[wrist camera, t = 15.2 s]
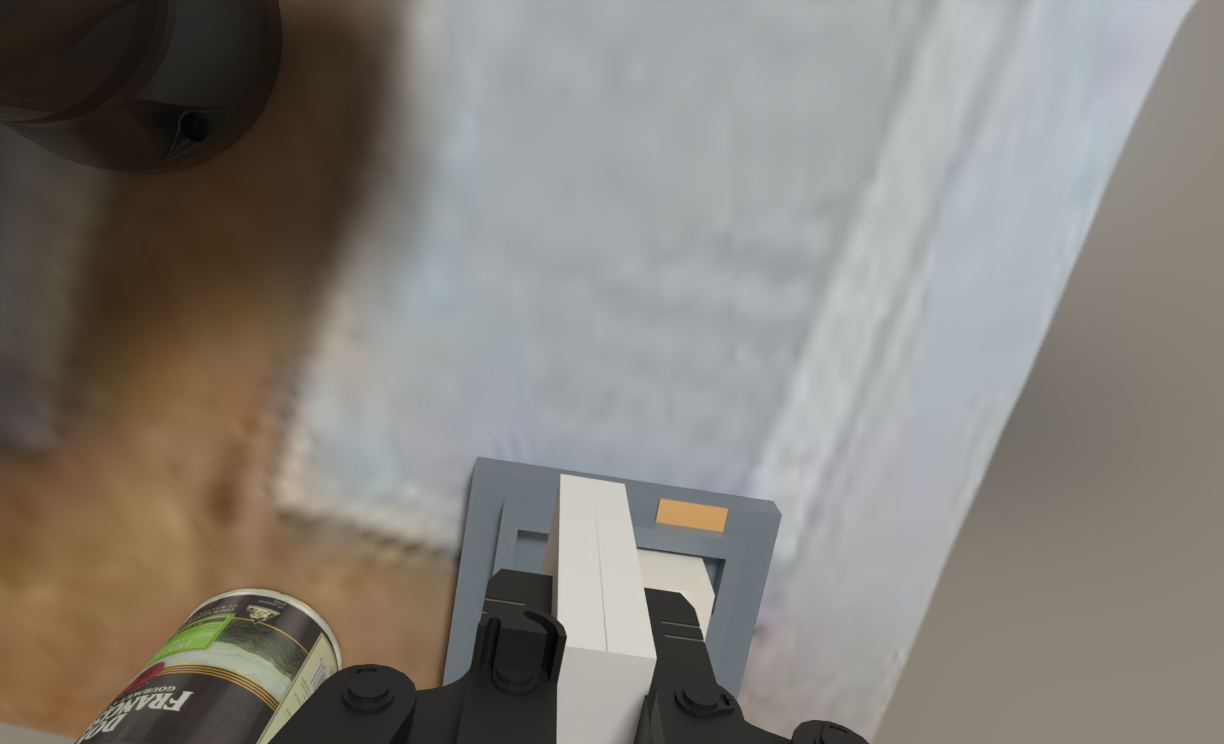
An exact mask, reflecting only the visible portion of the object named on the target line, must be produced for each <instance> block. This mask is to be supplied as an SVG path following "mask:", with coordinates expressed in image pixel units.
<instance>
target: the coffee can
mask: <svg viewBox="0 0 1224 744" xmlns="http://www.w3.org/2000/svg"><path fill="white" fill-rule="evenodd" d="M339 670H342V656H341V651H340V648H339V644H338V642H337V640H336V637H335V635H334V634H333V632H332V630H331V629H330V627H329V625H328V624H327V623H326V622H325V621H324V620H323V619H322V618H321V617H320V615H319V614H318V613H317V612H315V611H314V610H313V609H312V608H310V607H309V606H308V605H306V604H305V603H303V602H301V601H299V600H298V599H296V598H294V597H291V596H289V595H286V594H283V593H280V592H277V591H273V590H267V589H253V588H248V589H238V590H233V591H229V592H225V593H222V594H219V595H217V596H214V597H212V598H210V599H209V600H207V601H205V602H204V603H202V604H201V605H200V606H198V607H197V608H196V609H195V610H194V611H193V612H192V613H191V614H190V615H189V617H188V618H187V619H186V620H185V622H184V623H183V625H182V626H181V627H180V628H179V629H178V631H177V632H176V633H175V634H174V635H173V636H172V637H171V638H170V639H169V640H168V642H167V643H166V644H165V645H164V646H163V647H162V648H161V649H160V651H159V652H158V653H157V654H156V655H155V656H154V657H153V658H152V659H151V660H150V661H149V663H148V664H147V665H146V666H145V667H144V668H143V669H142V670H141V671H140V672H139V673H138V675H137V676H136V677H135V678H134V679H133V680H132V681H131V682H130V683H129V684H128V686H127V687H126V688H125V689H124V690H123V691H122V692H121V693H120V694H119V695H118V696H117V698H116V699H115V700H114V701H113V702H112V703H111V704H110V705H109V706H108V707H107V708H106V709H105V710H104V711H103V713H102V714H101V715H100V716H99V717H98V718H97V719H96V720H95V721H94V722H93V723H92V725H91V726H90V727H89V728H88V729H87V730H86V731H85V732H84V733H83V735H82V736H81V737H80V738H79V739H78V740H77V741H76V742H75V743H74V744H267V743H268V742H269V741H270V740H271V739H272V738H273V737H274V736H275V735H276V733H277V732H278V731H279V730H280V729H281V728H282V727H283V726H284V725H285V723H286V722H287V721H288V720H289V719H290V718H291V717H292V716H293V715H294V714H295V712H296V711H297V710H298V709H299V708H300V707H301V706H302V705H303V704H304V703H305V701H306V700H307V699H308V698H309V697H310V696H311V695H312V694H313V693H314V691H315V690H316V689H317V688H318V687H319V686H320V685H321V684H322V683H323V682H324V681H325V680H326V679H327V678H329V677H330V676H331V675H333V674H334V673H335V672H337V671H339Z"/></svg>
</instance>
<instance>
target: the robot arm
mask: <svg viewBox="0 0 1224 744" xmlns="http://www.w3.org/2000/svg"><path fill="white" fill-rule="evenodd" d="M281 41H282V31H281V17H280V9H279V4H278V0H0V122H1V123H3V124H5V125H6V126H8V127H9V128H11V129H13V130H14V131H16V132H18V133H19V134H21V135H23V136H24V137H26V138H28V139H29V140H31V141H32V142H34V143H36V144H37V145H39V146H41V147H43V148H44V149H46V150H48V151H50V152H52V153H54V154H57V155H59V156H61V157H63V158H66V159H69V160H71V161H74V162H77V163H80V164H84V165H87V166H91V167H95V168H100V169H105V170H112V171H124V172H142V173H158V172H169V171H175V170H180V169H184V168H188V167H191V166H194V165H197V164H200V163H202V162H204V161H207V160H209V159H211V158H213V157H215V156H216V155H218V154H220V153H221V152H223V151H224V150H226V149H227V148H229V147H230V146H231V145H232V144H234V143H235V142H236V141H237V140H238V139H239V138H240V137H241V136H243V134H244V133H245V132H246V131H247V130H248V129H249V128H250V127H251V125H252V124H253V123H254V122H255V120H256V119H257V117H258V116H259V114H260V113H261V111H262V109H263V108H264V106H265V104H266V102H267V100H268V98H269V95H270V93H271V91H272V88H273V85H274V82H275V79H276V75H277V72H278V67H279V62H280V54H281ZM267 744H869V743H868V742H867V741H866V740H865V739H864V738H863V737H861V736H860V735H858V734H856V733H855V732H853V731H851V730H850V729H848V728H846V727H844V726H841V725H838V724H836V723H832V722H830V721H820V720H811V721H807V722H803V723H801V724H800V725H799V726H798V727H797V728H796V729H795V730H794V732H793V736H792V739H791V740H790V739H787V738H784V737H781V736H779V735H776V734H773V733H770V732H768V731H765V730H762V729H760V728H758V727H756V726H753V725H751V724H750V723H748V722H747V721H745V720H744V717H743V714H742V711H741V708H740V706H739V704H738V703H737V701H736V699H735V697H734V696H733V695H731V694H730V693H729V692H728V691H727V690H726V689H725V688H723V687H722V686H720V685H718V684H717V682H716V678H715V675H714V672H713V668H712V665H711V661H710V658H709V655H708V651H707V648H706V644H705V642H704V638H703V634H702V631H701V629H700V624H699V620H698V617H697V614H696V610H695V608H694V607H693V606H692V605H691V604H690V603H689V601H688V600H687V599H686V598H685V597H684V596H683V595H682V594H681V593H679V592H673V591H666V590H659V589H652V588H645V587H644V586H643V581H642V576H641V570H640V565H639V559H638V554H637V549H636V543H635V538H634V532H633V527H632V521H631V516H630V511H629V505H628V500H627V494H626V489H625V484H621V483H615V482H609V481H603V480H597V479H590V478H584V477H578V476H572V475H565V474H560V479H559V484H558V490H557V495H556V500H555V505H554V511H553V516H552V521H551V526H550V532H549V537H548V542H547V547H546V553H545V558H544V563H543V568H542V574H536V573H530V572H523V571H516V570H509V569H502V568H501V569H500V570H499V571H498V572H497V573H496V574H495V575H494V576H493V577H492V578H491V579H489V580H488V584H487V589H486V594H485V599H484V604H483V610H482V615H481V620H480V622H479V623H478V627H477V633H476V638H475V644H474V650H473V656H472V662H471V666H470V669H469V670H468V671H467V672H466V673H465V675H464V676H463V677H461V678H460V679H458V680H457V681H455V682H453V683H451V684H448V685H445V686H443V687H439V688H433V689H428V690H418V691H416V689H415V686H414V683H413V682H412V681H411V680H410V679H409V678H408V677H407V676H406V675H405V674H404V673H402V672H400V671H398V670H396V669H394V668H391V667H388V666H382V665H376V664H366V665H354V666H351V667H348V668H345V669H342V670H339V671H337V672H335V673H334V674H333V675H331V676H330V677H329V678H327V679H326V680H325V681H324V682H323V683H322V684H321V685H320V686H319V687H318V688H317V689H316V690H315V691H314V693H313V694H312V695H311V696H310V697H309V698H308V699H307V700H306V701H305V703H304V704H303V705H302V706H301V707H300V708H299V709H298V710H297V711H296V712H295V714H294V715H293V716H292V717H291V718H290V719H289V720H288V721H287V722H286V723H285V725H284V726H283V727H282V728H281V729H280V730H279V731H278V732H277V733H276V735H275V736H274V737H273V738H272V739H271V740H270V741H269V742H268V743H267Z"/></svg>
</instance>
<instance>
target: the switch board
mask: <svg viewBox="0 0 1224 744" xmlns="http://www.w3.org/2000/svg"><path fill="white" fill-rule="evenodd" d="M560 474H565V475H572V476H578V477H584V478H590V479H597V480H603V481H609V482H615V483H621V484H625V489H626V494H627V500H628V505H629V511H630V516H631V521H632V527H633V532H634V538H635V543H636V546H637V547H644V548H651V549H658V550H665V551H672V552H679V553H686V554H693V555H700V556H702V559H703V562H704V565H705V568H706V571H707V574H708V577H709V580H710V583H711V586H712V589H713V592H714V594H715V598H714V602H713V607H712V611H711V615H710V620H709V624H708V629H707V633H706V637H705V644H706V648H707V651H708V655H709V658H710V661H711V665H712V668H713V672H714V675H715V678H716V682H717V684H718V685H720V686H722V687H723V688H725V689H726V690H727V691H728V692H729V693H730V694H731V695H733V696H734V697H735V699H736V701H737V698H738V694H739V690H740V686H741V682H742V677H743V673H744V669H745V665H746V661H747V657H748V653H749V648H750V644H751V640H752V636H753V632H754V628H755V624H756V619H757V615H758V611H759V607H760V603H761V599H762V594H763V590H764V586H765V582H766V578H767V574H768V570H769V565H770V561H771V557H772V553H773V549H774V545H775V541H776V536H777V532H778V528H779V524H780V520H781V516H782V515H781V513H780V511H779V510H778V508H777V507H776V505H775V504H774V502H773V501H766V500H760V499H753V498H747V497H740V496H733V495H727V494H720V493H713V492H707V491H700V490H693V489H687V488H680V487H674V486H667V485H660V484H654V483H647V482H640V481H634V480H627V479H621V478H614V477H607V476H601V475H594V474H587V473H581V472H574V471H568V470H561V469H554V468H548V467H541V466H534V465H528V464H521V463H515V462H508V461H501V460H495V459H488V458H481V457H478V459H477V462H476V464H475V467H474V471H473V478H472V485H471V492H470V499H469V506H468V513H467V519H466V526H465V533H464V540H463V547H462V554H461V561H460V568H459V575H458V582H457V589H456V595H455V602H454V609H453V616H452V623H451V630H450V637H449V644H448V651H447V658H446V665H445V671H444V678H443V685H442V687H443V686H445V685H448V684H451V683H453V682H455V681H457V680H458V679H460V678H461V677H463V676H464V675H465V673H466V672H467V671H468V670H469V669H470V666H471V662H472V656H473V650H474V644H475V638H476V633H477V627H478V623H479V622H480V620H481V615H482V610H483V604H484V599H485V594H486V589H487V584H488V580H489V579H491V578H492V577H493V576H494V575H495V574H496V573H497V572H498V571H499V570H500V569H501V568H502V569H509V570H516V571H523V572H530V573H536V574H542V568H543V563H544V558H545V553H546V547H547V542H548V537H549V532H550V526H551V521H552V516H553V511H554V505H555V500H556V495H557V490H558V484H559V479H560Z"/></svg>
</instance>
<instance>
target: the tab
mask: <svg viewBox="0 0 1224 744" xmlns="http://www.w3.org/2000/svg"><path fill="white" fill-rule="evenodd" d="M636 549H637V554H638V559H639V565H640V570H641V576H642V581H643V586H644V587H645V588H652V589H659V590H666V591H673V592H679V593H681V594H682V595H683V596H684V597H685V598H686V599H687V600H688V601H689V603H690V604H691V605H692V606H693V607H694V608H695V610H696V614H697V617H698V620H699V624H700V629H701V631H702V634H703V638H704V642H705V637H706V633H707V629H708V624H709V620H710V615H711V611H712V607H713V602H714V598H715V594H714V592H713V589H712V586H711V583H710V580H709V577H708V574H707V571H706V568H705V565H704V562H703V559H702V556H700V555H693V554H686V553H679V552H672V551H665V550H658V549H651V548H644V547H637V546H636Z"/></svg>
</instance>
